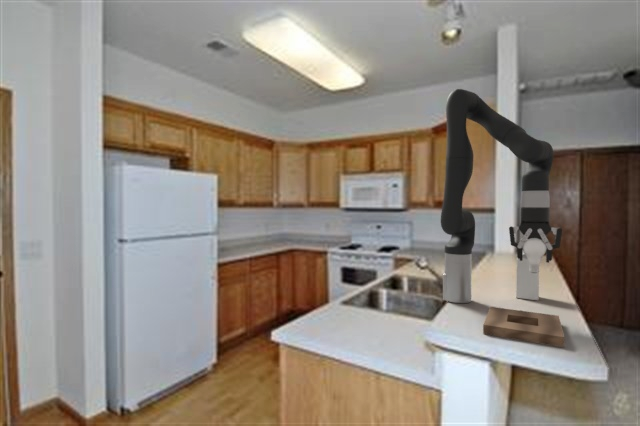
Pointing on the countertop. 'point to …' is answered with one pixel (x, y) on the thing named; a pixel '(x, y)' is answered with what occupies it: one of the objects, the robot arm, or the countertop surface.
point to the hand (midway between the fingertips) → (534, 261)
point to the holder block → (524, 326)
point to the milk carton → (526, 280)
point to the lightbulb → (534, 253)
